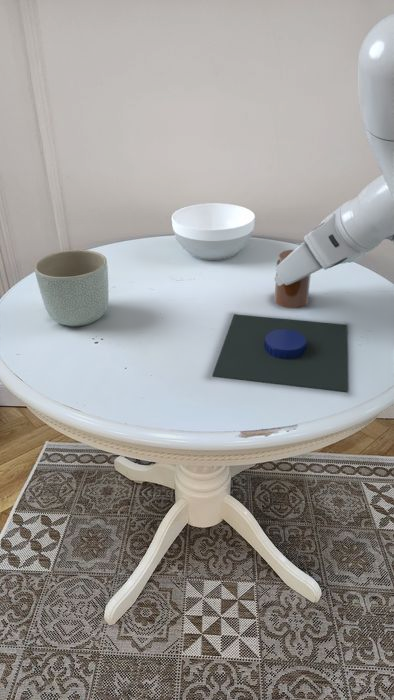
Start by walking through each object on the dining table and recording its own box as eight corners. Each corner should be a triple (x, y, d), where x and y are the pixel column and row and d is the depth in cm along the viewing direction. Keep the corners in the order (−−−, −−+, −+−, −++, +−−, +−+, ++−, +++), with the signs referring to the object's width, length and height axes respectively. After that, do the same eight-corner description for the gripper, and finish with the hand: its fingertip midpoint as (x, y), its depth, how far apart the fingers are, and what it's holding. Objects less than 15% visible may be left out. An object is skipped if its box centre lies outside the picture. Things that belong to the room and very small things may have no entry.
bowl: (172, 269, 117) (170, 230, 112) (173, 238, 132) (172, 203, 128) (258, 267, 117) (259, 229, 112) (249, 237, 133) (250, 202, 128)
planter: (30, 322, 97) (19, 267, 91) (79, 296, 106) (71, 244, 100) (78, 341, 91) (69, 283, 85) (126, 312, 100) (121, 258, 94)
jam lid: (261, 356, 85) (262, 347, 84) (267, 335, 91) (267, 327, 90) (303, 361, 84) (304, 352, 83) (307, 340, 89) (308, 331, 88)
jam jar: (306, 294, 105) (310, 249, 100) (309, 309, 100) (314, 262, 95) (273, 294, 105) (276, 248, 100) (275, 309, 100) (278, 261, 95)
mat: (345, 327, 94) (346, 324, 94) (346, 393, 77) (347, 391, 77) (234, 316, 98) (234, 314, 98) (212, 377, 81) (212, 375, 81)
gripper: (365, 204, 95) (313, 243, 106) (303, 235, 83) (251, 276, 94) (385, 233, 95) (330, 270, 106) (325, 269, 83) (270, 306, 93)
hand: (292, 273), depth 100 cm, fingers open, 8 cm apart
